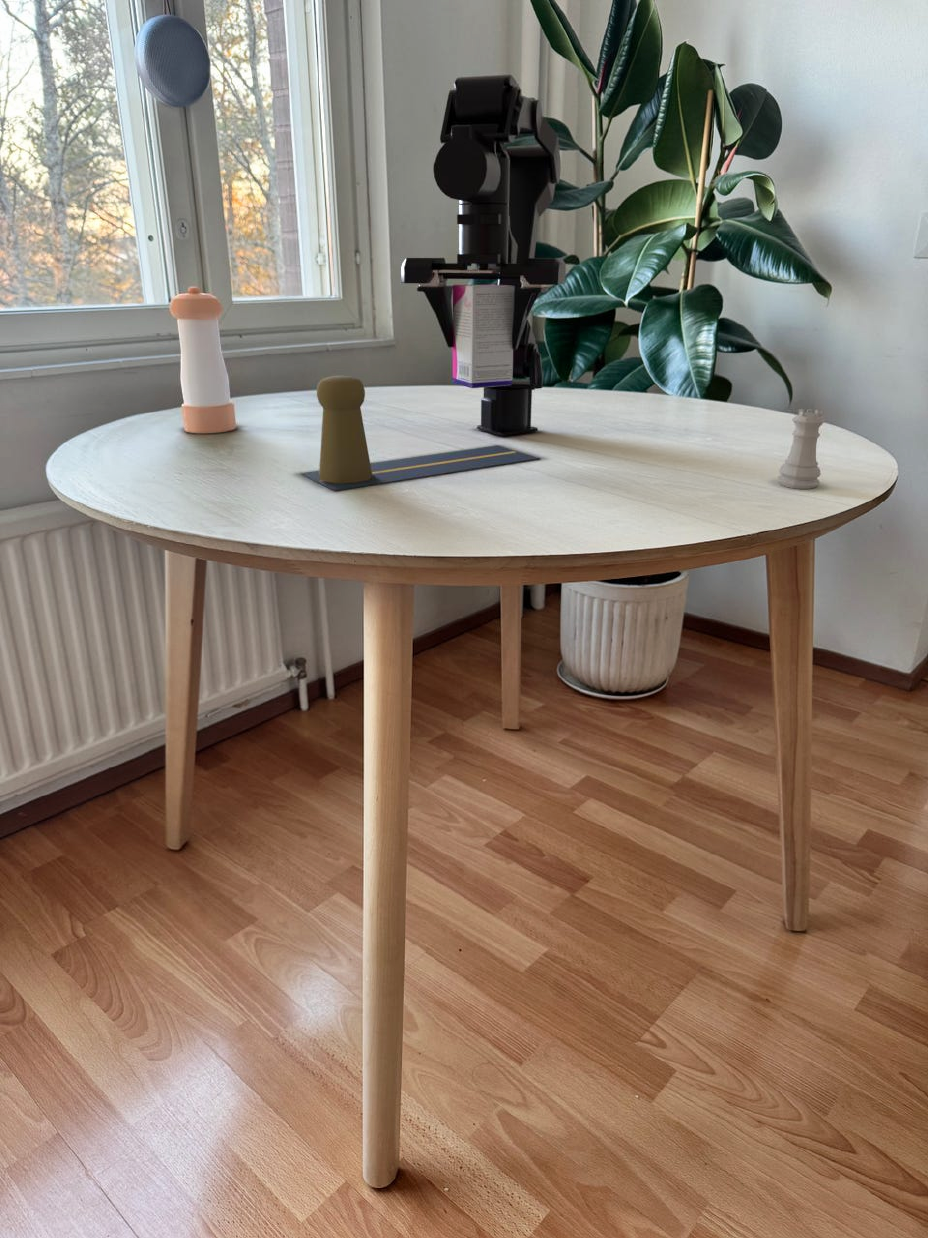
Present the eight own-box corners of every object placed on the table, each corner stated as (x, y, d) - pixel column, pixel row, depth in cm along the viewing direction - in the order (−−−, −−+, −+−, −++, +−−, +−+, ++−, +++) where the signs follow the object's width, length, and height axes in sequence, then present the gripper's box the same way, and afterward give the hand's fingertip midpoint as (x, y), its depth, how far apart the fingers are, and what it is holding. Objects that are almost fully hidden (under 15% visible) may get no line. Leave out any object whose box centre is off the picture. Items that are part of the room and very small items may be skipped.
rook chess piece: (814, 491, 89) (828, 416, 86) (771, 485, 91) (783, 411, 88) (822, 482, 92) (836, 409, 89) (781, 477, 95) (792, 405, 91)
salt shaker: (233, 432, 118) (218, 287, 110) (180, 434, 117) (160, 287, 109) (238, 423, 124) (224, 285, 117) (188, 424, 123) (170, 285, 116)
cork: (320, 470, 97) (314, 372, 92) (372, 469, 97) (368, 372, 93) (316, 483, 91) (309, 380, 87) (372, 482, 92) (367, 379, 87)
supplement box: (514, 385, 102) (516, 284, 97) (471, 389, 100) (470, 286, 95) (493, 378, 107) (493, 282, 102) (451, 382, 104) (449, 284, 100)
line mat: (497, 445, 110) (497, 445, 110) (540, 458, 103) (540, 457, 103) (300, 474, 96) (300, 473, 96) (334, 491, 89) (334, 490, 89)
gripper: (575, 207, 100) (569, 343, 106) (427, 209, 104) (429, 339, 111) (560, 202, 90) (554, 353, 96) (397, 204, 94) (401, 348, 101)
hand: (482, 348), depth 101 cm, fingers closed on supplement box, 8 cm apart
